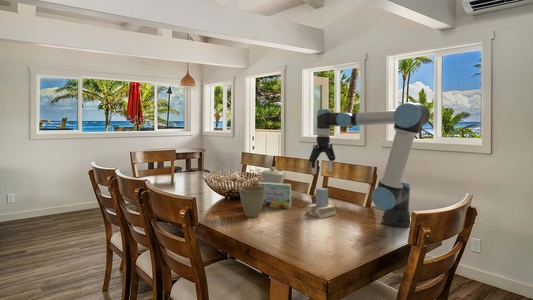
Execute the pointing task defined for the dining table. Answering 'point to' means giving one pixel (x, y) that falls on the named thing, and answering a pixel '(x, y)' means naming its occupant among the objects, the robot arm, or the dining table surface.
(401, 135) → the robot arm
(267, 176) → the canister
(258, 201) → the plant pot
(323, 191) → the slate-blue block
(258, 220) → the dining table surface
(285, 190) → the snack box
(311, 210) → the maple riser
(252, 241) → the dining table surface
